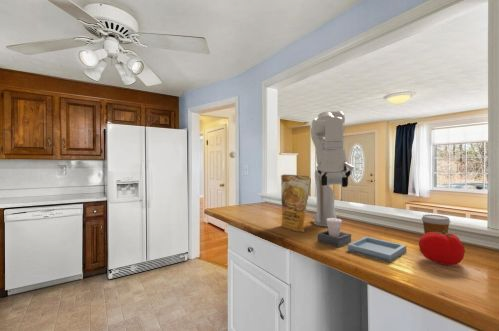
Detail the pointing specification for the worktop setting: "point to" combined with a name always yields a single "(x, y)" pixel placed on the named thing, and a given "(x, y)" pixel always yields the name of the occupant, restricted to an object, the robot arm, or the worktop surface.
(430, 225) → the disposable coffee cup
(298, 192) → the pancake mix bag
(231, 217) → the worktop surface
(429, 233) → the tomato
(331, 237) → the dark grey open box
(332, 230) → the smoothie
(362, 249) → the tray
